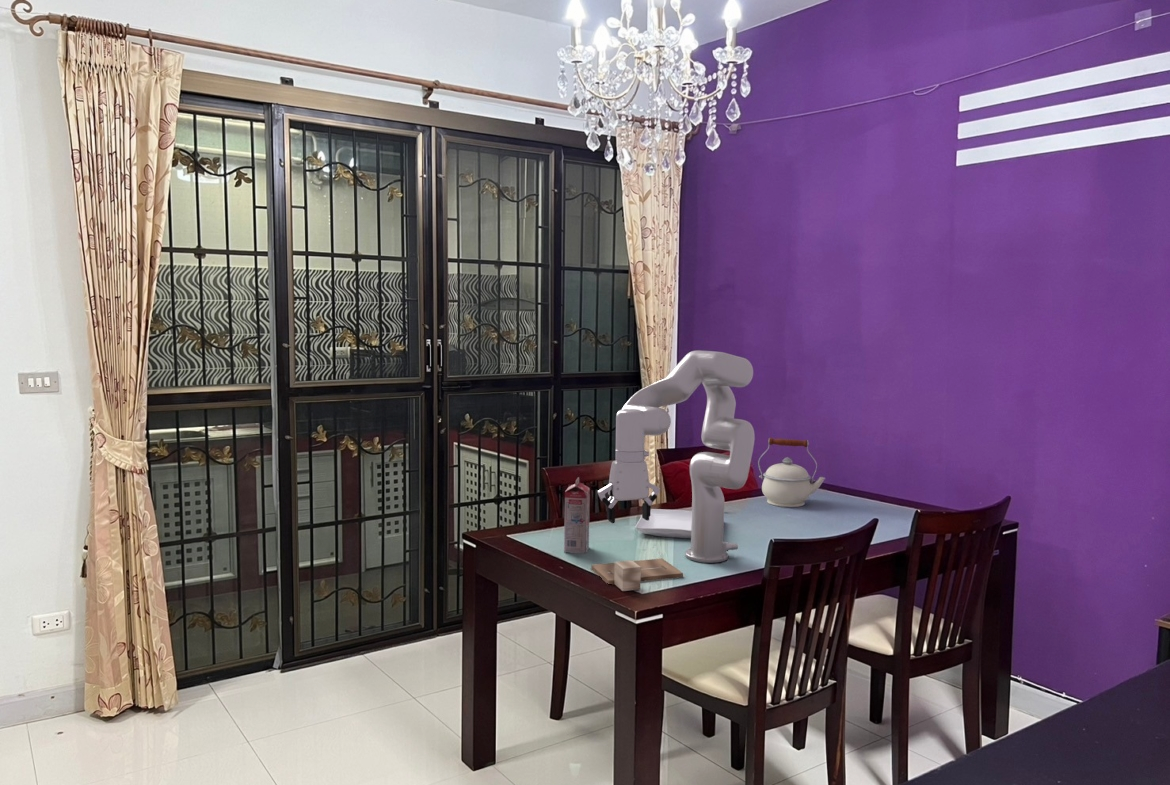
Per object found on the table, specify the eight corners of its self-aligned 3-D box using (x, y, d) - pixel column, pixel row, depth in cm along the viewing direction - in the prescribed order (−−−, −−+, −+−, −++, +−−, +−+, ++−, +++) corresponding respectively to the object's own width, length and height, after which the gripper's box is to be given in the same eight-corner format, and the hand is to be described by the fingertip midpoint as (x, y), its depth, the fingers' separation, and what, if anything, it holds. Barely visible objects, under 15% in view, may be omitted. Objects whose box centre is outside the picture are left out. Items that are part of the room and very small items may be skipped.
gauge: (623, 575, 231) (623, 553, 230) (640, 589, 219) (640, 567, 219) (606, 576, 229) (606, 555, 228) (622, 591, 218) (623, 568, 217)
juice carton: (564, 552, 252) (565, 480, 250) (567, 546, 259) (568, 476, 256) (585, 553, 251) (586, 481, 249) (588, 547, 258) (589, 477, 256)
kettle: (754, 506, 315) (757, 440, 312) (759, 495, 332) (761, 433, 330) (823, 511, 308) (826, 445, 305) (824, 500, 325) (827, 437, 322)
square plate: (719, 544, 265) (719, 532, 264) (633, 538, 270) (634, 526, 270) (722, 522, 291) (722, 511, 291) (644, 517, 297) (645, 506, 296)
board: (662, 562, 244) (662, 558, 244) (682, 577, 231) (683, 572, 230) (591, 569, 237) (591, 564, 236) (608, 584, 223) (608, 580, 223)
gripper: (654, 452, 224) (653, 514, 226) (593, 455, 219) (593, 519, 220) (666, 457, 217) (664, 521, 219) (603, 460, 212) (602, 526, 213)
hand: (628, 520), depth 220 cm, fingers open, 9 cm apart
